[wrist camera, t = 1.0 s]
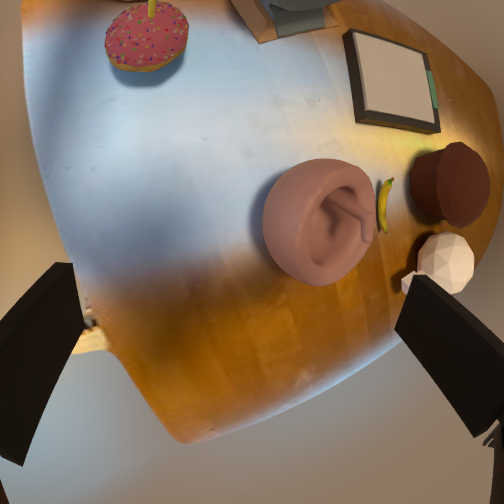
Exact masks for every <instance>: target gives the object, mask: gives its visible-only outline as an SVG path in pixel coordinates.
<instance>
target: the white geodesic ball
mask: <svg viewBox="0 0 504 504" xmlns="http://www.w3.org/2000/svg"><path fill="white" fill-rule="evenodd" d="M473 270H474V254H473V253H472V251H471V249H470V247H469V246H468V244H467V242H466V241H465V239H464V238H463V237H461V236H459V235H456V234H454V233H451V232H448V231H445V232H442V233H439V234H436V235H432V236H429V238H428V239H427V241H426V242H425V243H424V245H423V246H422V248H421V249H420V250H419V252H418V266H417V273H416V272H415V271H413V272H411V273H410V274H408V275H407V276H405V277H404V278H402V279H401V283H402V291H403V292H404V293H405V294H406V295H407V293H408V290H409V287H410V283H411V280H412V277H413V275H427V276H428V277H430V278H431V279H432V280H433V281H435V282H436V283H437V284H438V285H439V286H441V287H442V288H443V289H444V290H446V291H447V292H448V293H449V294H450V295H451V294H454V293H457V292H461V291H462V289H463V288H464V287H465V285H466V284H467V283H468V281H469V280H470V278H471V277H472V276H473Z"/></svg>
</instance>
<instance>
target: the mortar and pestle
mask: <svg viewBox="0 0 504 504" xmlns="http://www.w3.org/2000/svg"><path fill="white" fill-rule="evenodd" d="M375 222H376V203H375V194H374V190H373V187H372V184H371V181H370V179H369V177H368V176H367V175H366V174H365V172H364V171H363V170H362V169H360V168H359V167H357V166H354V165H352V164H349V163H347V162H344V161H341V160H336V159H314V160H309V161H306V162H303V163H300V164H298V165H296V166H294V167H292V168H291V169H289V170H288V171H287V172H285V173H284V174H283V175H282V176H281V177H280V178H279V179H278V180H277V181H276V183H275V184H274V185H273V187H272V188H271V190H270V192H269V194H268V196H267V198H266V201H265V204H264V209H263V215H262V230H263V236H264V240H265V243H266V246H267V248H268V250H269V252H270V254H271V256H272V257H273V259H274V260H275V262H276V263H277V264H278V265H279V267H280V268H281V269H282V270H283V271H285V272H286V273H287V274H288V275H290V276H291V277H293V278H295V279H296V280H298V281H300V282H302V283H305V284H308V285H311V286H326V285H329V284H332V283H334V282H336V281H338V280H339V279H341V278H342V277H344V276H345V275H347V273H348V272H350V271H351V270H352V269H353V268H354V267H355V266H356V265H357V264H358V262H359V261H360V260H361V259H362V257H363V256H364V254H365V253H366V250H368V248H369V246H370V243H371V242H372V241H373V232H374V227H375Z"/></svg>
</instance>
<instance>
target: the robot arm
mask: <svg viewBox="0 0 504 504" xmlns="http://www.w3.org/2000/svg"><path fill="white" fill-rule="evenodd" d="M84 328H85V323H84V319H83V314H82V310H81V306H80V301H79V296H78V291H77V287H76V280H75V275H74V269H73V263H62V262H61V263H60V262H55V263H54V264H53V265H52V266H51V267H50V268H49V269H48V270H47V271H46V272H45V273H44V274H43V275H42V276H41V277H40V278H39V279H38V280H37V281H36V282H35V283H34V284H33V285H32V286H31V288H30V289H28V291H27V292H26V293H25V294H24V295H23V296H22V297H21V298H20V299H19V300H18V301H17V302H16V304H15V305H14V306H13V307H12V308H11V309H10V310H9V311H8V312H7V314H6V315H5V316H4V317H3V318H2V319H1V321H0V455H1V457H3V458H5V459H7V460H9V461H11V462H14V463H16V464H18V465H20V466H23V464H24V461H25V458H26V455H27V453H28V450H29V447H30V444H31V442H32V438H33V436H34V434H35V431H36V429H37V426H38V424H39V421H40V419H41V416H42V414H43V412H44V409H45V407H46V405H47V403H48V400H49V398H50V396H51V393H52V391H53V389H54V387H55V385H56V383H57V381H58V379H59V376H60V374H61V372H62V370H63V368H64V366H65V364H66V362H67V360H68V358H69V356H70V354H71V352H72V350H73V349H74V347H75V345H76V343H77V341H78V339H79V337H80V335H81V334H82V332H83V330H84ZM394 330H395V331H396V332H397V333H398V335H399V336H400V337H401V338H402V340H403V341H404V342H405V343H406V344H407V346H408V347H409V348H410V350H411V351H412V353H413V354H414V355H415V356H416V358H417V359H418V360H419V362H420V363H421V364H422V365H423V367H424V368H425V369H426V371H427V372H428V374H429V375H430V376H431V377H432V379H433V380H434V382H435V383H436V384H437V385H438V387H439V388H440V390H441V391H442V392H443V394H444V395H445V397H446V398H447V400H448V401H449V402H450V404H451V405H452V407H453V408H454V409H455V411H456V412H457V414H458V415H459V416H460V418H461V420H462V421H463V422H464V424H465V425H466V427H467V428H468V430H469V431H470V433H471V434H472V436H473V437H474V438H475V437H477V436H479V435H481V434H482V433H484V432H486V431H487V430H488V429H489V428H490V427H491V425H492V424H493V423H494V422H495V420H496V419H497V420H499V422H500V423H499V424H498V425H497V426H496V427H495V429H494V430H493V431H492V432H491V433H490V435H488V437H487V438H486V439H485V440H484V442H483V446H485V445H486V444H487V443H488V442H489V441H490V440H491V439H492V438H494V439H493V440H492V441H491V443H489V445H488V447H492V448H494V468H493V479H492V489H491V497H490V504H504V343H503V342H502V341H501V340H500V339H499V338H498V337H497V336H496V335H495V334H494V333H493V332H492V331H491V330H490V329H488V328H487V327H486V326H485V325H484V324H483V323H482V322H481V321H480V320H479V319H478V318H477V317H475V316H474V315H473V314H472V313H471V312H470V311H469V310H467V309H466V308H465V307H464V306H463V305H462V304H461V303H459V302H458V301H457V300H456V299H455V298H454V297H453V296H451V295H450V294H449V293H448V292H447V291H446V290H444V289H443V288H442V287H441V286H439V285H438V284H437V283H436V282H435V281H433V280H432V279H431V278H430V277H428V276H427V275H413V277H412V280H411V283H410V287H409V290H408V293H407V296H406V299H405V301H404V304H403V307H402V310H401V313H400V315H399V318H398V321H397V323H396V326H395V328H394ZM0 504H9V501H8V499H7V496H6V494H5V491H4V489H3V486H2V483H1V480H0Z"/></svg>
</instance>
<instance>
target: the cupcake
mask: <svg viewBox="0 0 504 504" xmlns="http://www.w3.org/2000/svg"><path fill="white" fill-rule="evenodd" d="M157 2H159V1H157ZM157 2H156V0H149V2H147V3H143V4H141V5H138V6H135V7H133V8H132V7H131V9H128V10H127V11H126V10H125V11H124V12H122V13H121V14H120V15H119V17H117V18H116V19H114V20H115V21H114V20H113V21H114V22H113V23H112V24H111V26H110V27H109V28H108V30H107V32H106V38H105V48H106V54H107V56H108V58H109V60H110V62H111V63H112V64H113V66H115V67H116V68H118V69H120V70H124V71H130V72H137V71H141V72H152V71H155V70H158V69H160V68H162V67H164V66H166V65H167V64H168V63H170V62H171V61H173V60H174V59H175V58H176V57H178V56H179V55H180V54H181V53H183V51H184V50H185V47H186V43H187V39H188V28H189V24H188V21H187V19H186V17H185V16H184V14H183V13H181V11H180V9H179V10H178V8H175V7H173V6H171V5H170V4H169V3H165V2H164V3H163V2H162V3H161V2H159V3H157Z"/></svg>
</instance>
